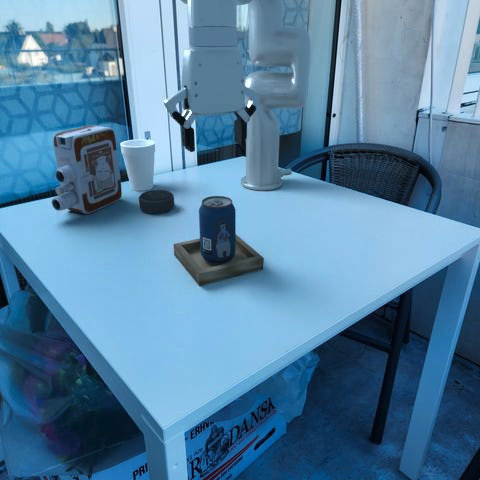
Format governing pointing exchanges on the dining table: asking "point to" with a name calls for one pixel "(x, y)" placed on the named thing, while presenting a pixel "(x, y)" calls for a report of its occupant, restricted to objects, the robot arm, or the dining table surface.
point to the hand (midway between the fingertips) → (215, 146)
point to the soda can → (217, 229)
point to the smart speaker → (156, 201)
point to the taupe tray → (209, 273)
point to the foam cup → (139, 163)
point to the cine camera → (86, 169)
